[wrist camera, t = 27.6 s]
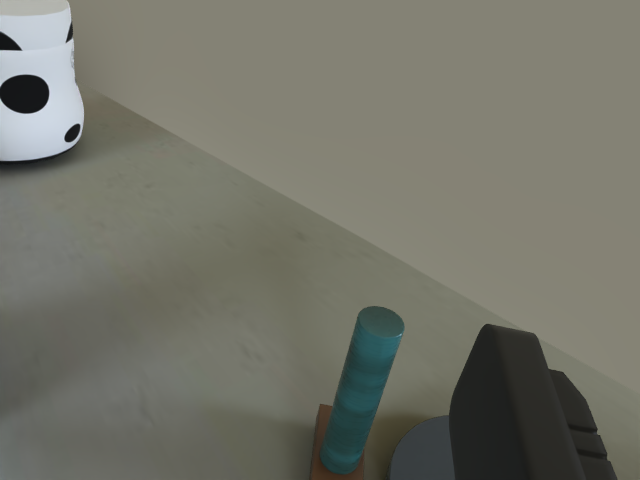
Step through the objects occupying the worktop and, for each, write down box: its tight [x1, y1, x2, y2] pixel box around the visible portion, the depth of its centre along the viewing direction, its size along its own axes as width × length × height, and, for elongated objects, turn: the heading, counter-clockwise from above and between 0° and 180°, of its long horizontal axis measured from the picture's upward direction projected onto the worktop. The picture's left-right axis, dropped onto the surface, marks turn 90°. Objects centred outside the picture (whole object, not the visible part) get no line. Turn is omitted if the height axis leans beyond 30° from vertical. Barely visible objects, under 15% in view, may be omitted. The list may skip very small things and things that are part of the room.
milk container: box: [0, 0, 84, 165], centre depth 70 cm, size 17×17×18 cm
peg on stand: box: [309, 306, 405, 480], centre depth 38 cm, size 9×4×15 cm, turn 175°
